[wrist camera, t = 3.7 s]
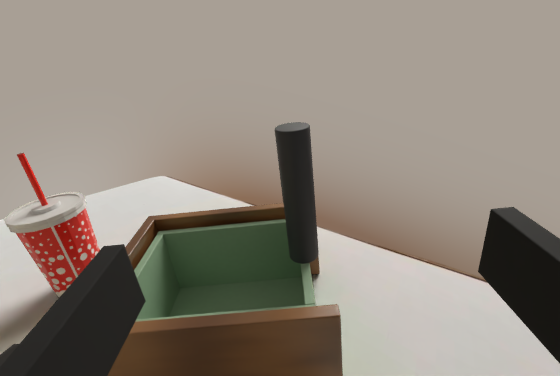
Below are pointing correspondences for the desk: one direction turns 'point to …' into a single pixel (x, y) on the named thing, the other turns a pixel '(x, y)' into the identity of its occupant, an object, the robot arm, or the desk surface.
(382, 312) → the desk surface
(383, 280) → the desk surface
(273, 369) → the wooden drawer casing
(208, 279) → the green open box
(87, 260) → the beverage cup
